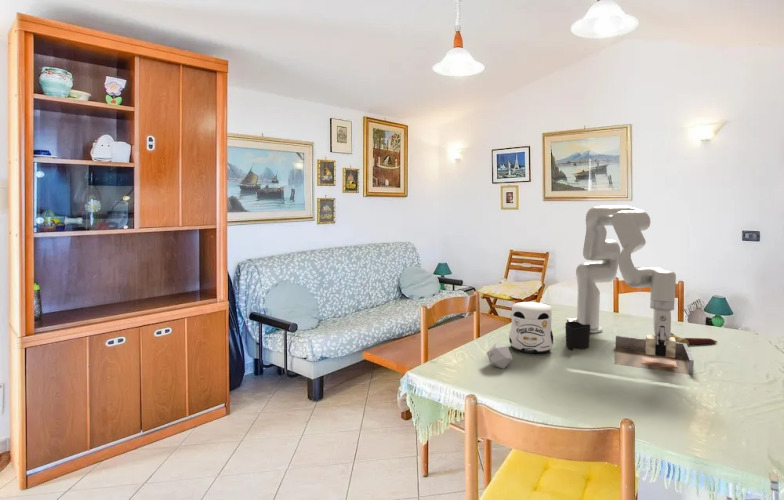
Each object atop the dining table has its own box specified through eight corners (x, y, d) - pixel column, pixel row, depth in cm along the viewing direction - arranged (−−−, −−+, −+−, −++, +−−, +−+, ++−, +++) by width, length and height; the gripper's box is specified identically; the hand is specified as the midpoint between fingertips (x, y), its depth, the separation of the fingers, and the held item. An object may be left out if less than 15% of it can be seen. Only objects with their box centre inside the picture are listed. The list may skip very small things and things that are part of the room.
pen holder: (584, 344, 189) (585, 321, 188) (593, 351, 179) (594, 327, 178) (561, 344, 189) (562, 321, 188) (569, 352, 180) (570, 327, 179)
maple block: (673, 353, 164) (674, 337, 163) (675, 357, 159) (675, 341, 159) (645, 350, 168) (646, 334, 167) (646, 354, 163) (646, 338, 163)
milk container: (524, 358, 173) (525, 313, 171) (501, 344, 190) (501, 303, 188) (562, 353, 178) (563, 309, 176) (536, 340, 195) (537, 300, 193)
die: (488, 362, 171) (480, 346, 166) (507, 350, 172) (500, 335, 166) (498, 377, 165) (490, 361, 159) (518, 365, 165) (511, 349, 160)
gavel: (708, 332, 192) (727, 340, 182) (706, 343, 193) (725, 351, 183) (662, 331, 190) (679, 338, 180) (661, 342, 191) (677, 349, 181)
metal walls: (614, 363, 164) (615, 350, 163) (615, 347, 181) (615, 335, 181) (692, 374, 153) (693, 360, 152) (685, 356, 170) (686, 343, 170)
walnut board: (614, 366, 164) (614, 363, 164) (615, 349, 181) (615, 346, 181) (692, 377, 153) (692, 374, 153) (685, 358, 170) (685, 355, 170)
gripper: (676, 310, 152) (674, 362, 154) (672, 300, 167) (669, 347, 169) (651, 308, 156) (649, 359, 158) (648, 298, 171) (646, 345, 173)
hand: (659, 352), depth 163 cm, fingers closed on maple block, 5 cm apart
